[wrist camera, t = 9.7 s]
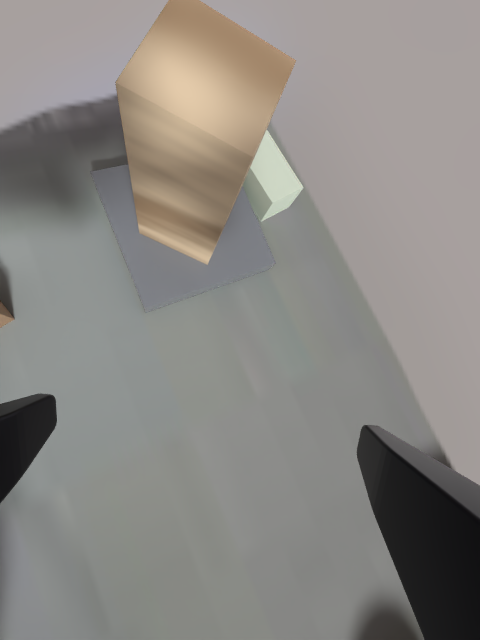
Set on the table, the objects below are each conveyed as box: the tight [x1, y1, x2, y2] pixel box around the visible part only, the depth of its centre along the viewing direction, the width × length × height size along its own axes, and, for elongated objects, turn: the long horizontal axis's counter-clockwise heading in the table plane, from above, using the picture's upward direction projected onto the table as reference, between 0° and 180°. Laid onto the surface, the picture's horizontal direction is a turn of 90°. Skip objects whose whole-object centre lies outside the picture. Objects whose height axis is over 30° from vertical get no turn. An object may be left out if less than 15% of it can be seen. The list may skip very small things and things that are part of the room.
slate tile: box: [90, 164, 276, 313], centre depth 22 cm, size 10×10×2 cm
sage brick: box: [242, 130, 303, 222], centre depth 24 cm, size 6×3×3 cm, turn 33°
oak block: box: [116, 0, 296, 265], centre depth 16 cm, size 5×5×11 cm
